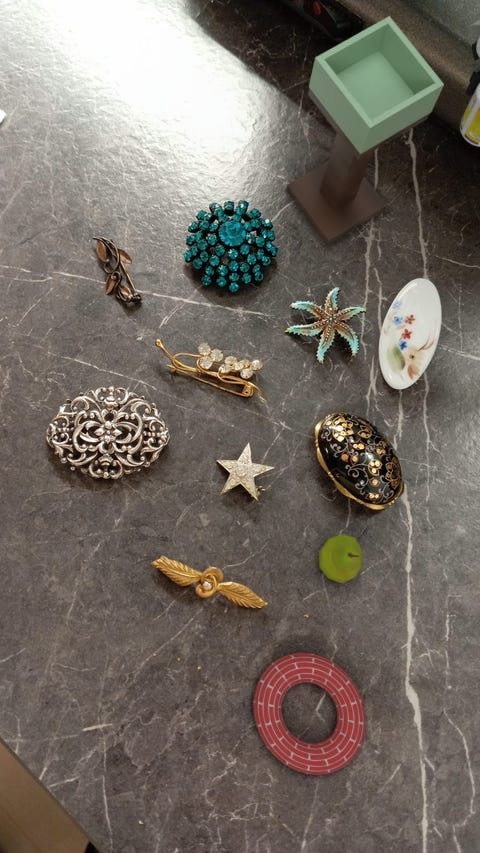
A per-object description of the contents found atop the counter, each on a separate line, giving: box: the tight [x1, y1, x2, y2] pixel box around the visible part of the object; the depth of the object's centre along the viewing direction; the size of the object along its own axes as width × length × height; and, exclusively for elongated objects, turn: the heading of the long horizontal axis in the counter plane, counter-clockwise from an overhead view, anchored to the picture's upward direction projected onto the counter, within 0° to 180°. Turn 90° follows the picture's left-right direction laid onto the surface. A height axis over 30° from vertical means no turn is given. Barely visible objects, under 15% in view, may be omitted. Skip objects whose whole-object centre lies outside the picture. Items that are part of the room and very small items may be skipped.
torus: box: [252, 652, 367, 776], centre depth 118 cm, size 16×14×4 cm
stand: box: [285, 88, 430, 246], centre depth 126 cm, size 11×11×26 cm
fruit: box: [318, 533, 364, 584], centre depth 119 cm, size 6×6×12 cm
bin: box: [308, 16, 445, 154], centre depth 111 cm, size 11×11×6 cm
